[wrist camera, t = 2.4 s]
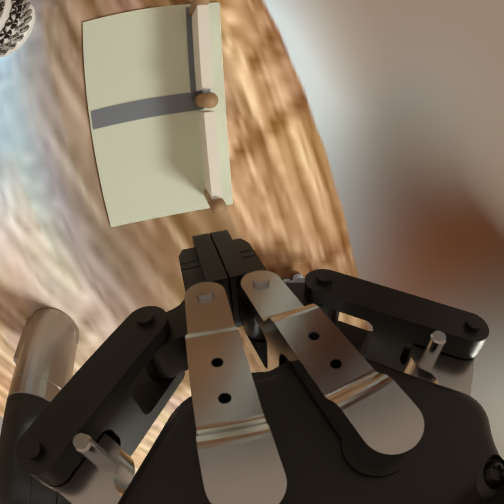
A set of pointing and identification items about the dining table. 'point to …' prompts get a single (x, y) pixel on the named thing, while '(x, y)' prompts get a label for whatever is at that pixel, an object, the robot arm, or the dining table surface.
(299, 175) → the dining table surface
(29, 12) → the decorative candle
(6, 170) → the dining table surface
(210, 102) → the fence fixed
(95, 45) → the card
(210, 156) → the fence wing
